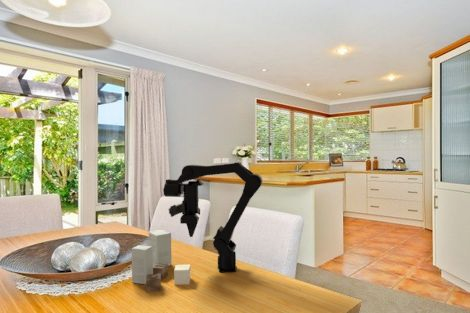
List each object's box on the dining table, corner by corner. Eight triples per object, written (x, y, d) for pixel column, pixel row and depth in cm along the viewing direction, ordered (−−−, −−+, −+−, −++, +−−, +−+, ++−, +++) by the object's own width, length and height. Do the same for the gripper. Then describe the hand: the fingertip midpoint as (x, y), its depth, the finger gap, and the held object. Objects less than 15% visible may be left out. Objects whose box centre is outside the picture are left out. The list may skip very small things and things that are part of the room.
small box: (171, 265, 120) (171, 232, 120) (156, 269, 116) (156, 235, 116) (162, 260, 127) (162, 229, 127) (148, 263, 123) (148, 231, 123)
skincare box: (153, 280, 106) (153, 246, 106) (146, 285, 102) (145, 249, 102) (139, 277, 108) (138, 244, 108) (131, 282, 104) (131, 248, 104)
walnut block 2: (160, 285, 102) (160, 272, 102) (160, 290, 98) (160, 278, 98) (147, 286, 101) (146, 274, 101) (146, 292, 97) (146, 279, 97)
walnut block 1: (167, 274, 111) (167, 263, 111) (162, 279, 107) (162, 267, 107) (156, 273, 112) (156, 262, 112) (150, 278, 108) (150, 267, 108)
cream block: (190, 278, 108) (190, 264, 108) (189, 284, 103) (188, 269, 103) (176, 278, 107) (176, 264, 107) (174, 284, 102) (174, 270, 102)
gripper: (173, 194, 127) (173, 231, 127) (166, 200, 108) (166, 244, 108) (200, 193, 127) (200, 230, 128) (197, 200, 109) (197, 243, 109)
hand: (191, 236), depth 118 cm, fingers closed
